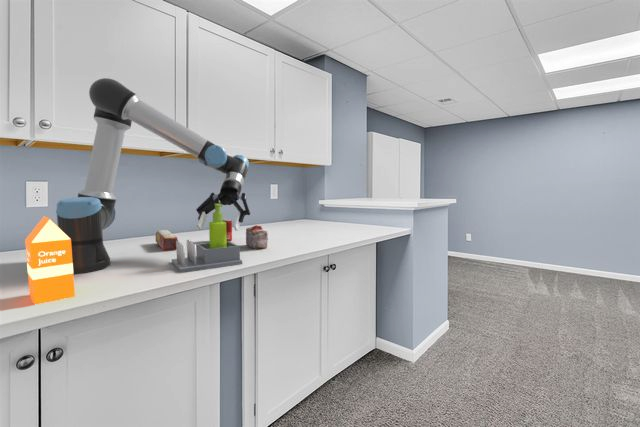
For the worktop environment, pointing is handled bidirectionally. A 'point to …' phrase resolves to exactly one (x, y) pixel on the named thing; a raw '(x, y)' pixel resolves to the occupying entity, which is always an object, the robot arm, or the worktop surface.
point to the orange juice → (49, 263)
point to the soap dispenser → (217, 229)
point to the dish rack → (205, 256)
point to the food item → (256, 237)
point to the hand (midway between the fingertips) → (217, 228)
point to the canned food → (228, 228)
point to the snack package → (166, 240)
